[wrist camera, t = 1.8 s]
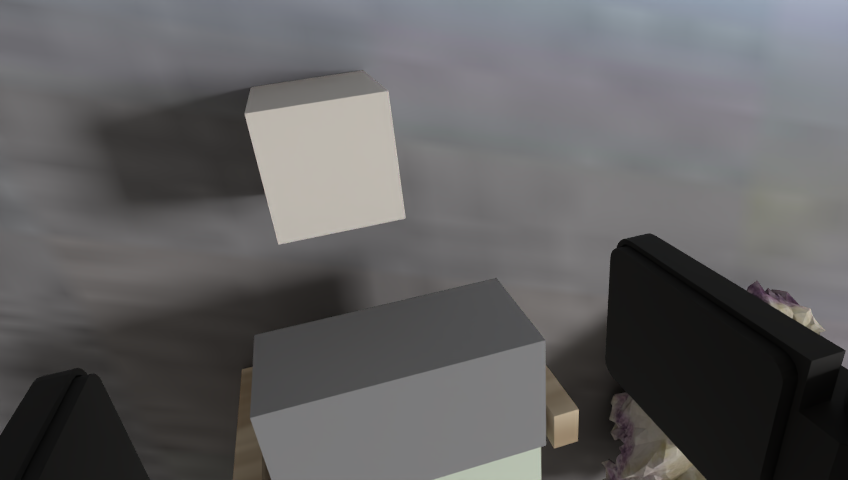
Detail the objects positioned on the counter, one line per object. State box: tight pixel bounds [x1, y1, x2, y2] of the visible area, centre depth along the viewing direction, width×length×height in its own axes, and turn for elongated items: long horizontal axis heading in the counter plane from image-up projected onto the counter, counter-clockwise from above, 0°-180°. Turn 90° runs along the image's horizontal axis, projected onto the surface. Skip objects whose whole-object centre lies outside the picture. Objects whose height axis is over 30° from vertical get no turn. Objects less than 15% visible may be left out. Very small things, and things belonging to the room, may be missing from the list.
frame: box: [233, 366, 579, 480], centre depth 29 cm, size 13×15×9 cm
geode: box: [602, 281, 825, 480], centre depth 35 cm, size 17×9×15 cm
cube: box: [245, 70, 405, 245], centre depth 22 cm, size 5×5×6 cm
